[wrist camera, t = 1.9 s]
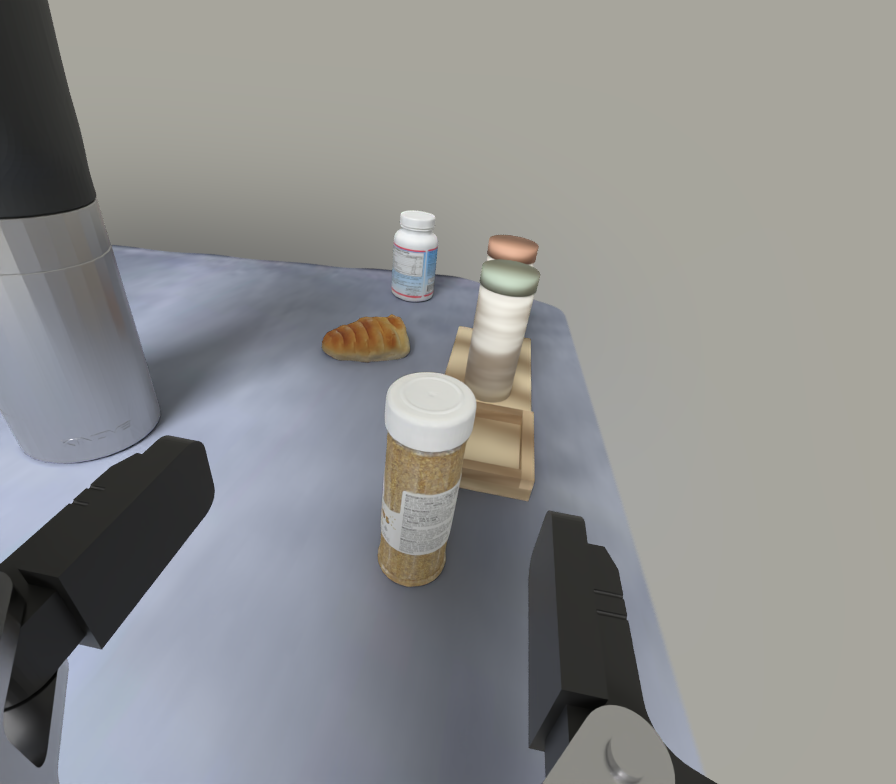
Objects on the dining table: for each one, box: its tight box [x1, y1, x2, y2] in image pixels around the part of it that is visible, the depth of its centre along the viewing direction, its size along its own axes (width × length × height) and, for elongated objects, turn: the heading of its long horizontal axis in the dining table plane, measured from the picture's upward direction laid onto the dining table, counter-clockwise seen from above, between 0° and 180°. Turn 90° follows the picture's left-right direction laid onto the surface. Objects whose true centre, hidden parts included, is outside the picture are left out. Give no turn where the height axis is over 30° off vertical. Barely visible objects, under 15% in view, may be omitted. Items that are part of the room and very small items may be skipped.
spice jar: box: [378, 372, 476, 587], centre depth 26 cm, size 5×5×14 cm
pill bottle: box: [392, 211, 438, 302], centre depth 63 cm, size 6×6×11 cm
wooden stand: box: [445, 235, 540, 501], centre depth 42 cm, size 26×9×14 cm, turn 171°
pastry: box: [322, 314, 410, 363], centre depth 51 cm, size 9×7×4 cm
